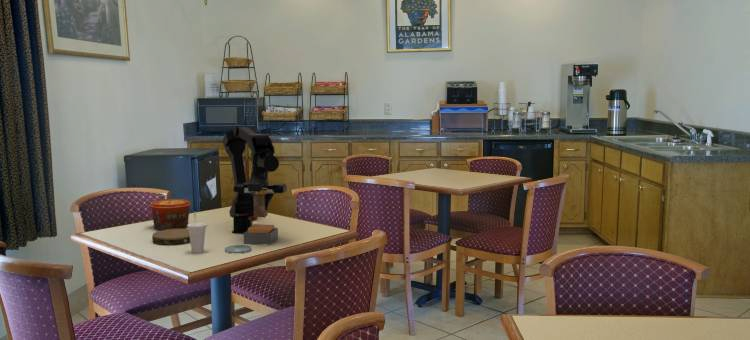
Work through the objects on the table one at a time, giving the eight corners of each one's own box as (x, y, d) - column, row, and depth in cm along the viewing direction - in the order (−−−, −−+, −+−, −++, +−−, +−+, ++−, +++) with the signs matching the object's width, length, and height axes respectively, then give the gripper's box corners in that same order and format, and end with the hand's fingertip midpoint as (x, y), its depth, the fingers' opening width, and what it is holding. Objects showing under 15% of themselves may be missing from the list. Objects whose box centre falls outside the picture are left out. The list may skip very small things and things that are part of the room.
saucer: (221, 253, 199) (220, 250, 199) (230, 246, 208) (230, 244, 208) (246, 254, 198) (246, 251, 198) (254, 247, 207) (254, 245, 207)
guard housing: (243, 243, 212) (243, 233, 212) (252, 237, 222) (252, 227, 221) (270, 244, 211) (270, 234, 210) (278, 238, 221) (277, 228, 220)
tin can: (196, 234, 227) (196, 227, 227) (198, 244, 212) (198, 236, 212) (153, 237, 222) (153, 230, 221) (151, 247, 207) (151, 239, 206)
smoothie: (190, 249, 203) (189, 210, 202) (209, 249, 204) (207, 210, 202) (186, 254, 197) (184, 214, 195) (205, 254, 198) (204, 213, 196)
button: (247, 232, 213) (247, 228, 212) (254, 228, 220) (254, 224, 220) (268, 233, 212) (268, 229, 212) (273, 228, 219) (273, 224, 219)
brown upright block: (253, 217, 214) (253, 195, 213) (257, 214, 218) (257, 193, 217) (264, 217, 213) (264, 196, 212) (267, 215, 217) (267, 194, 216)
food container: (194, 230, 234) (194, 203, 233) (152, 233, 227) (151, 206, 226) (188, 222, 248) (187, 197, 247) (148, 225, 241) (147, 200, 240)
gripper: (227, 171, 206) (228, 214, 208) (278, 172, 204) (279, 215, 206) (238, 167, 217) (239, 208, 219) (287, 168, 215) (287, 209, 217)
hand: (260, 210), depth 215 cm, fingers closed on brown upright block, 4 cm apart
